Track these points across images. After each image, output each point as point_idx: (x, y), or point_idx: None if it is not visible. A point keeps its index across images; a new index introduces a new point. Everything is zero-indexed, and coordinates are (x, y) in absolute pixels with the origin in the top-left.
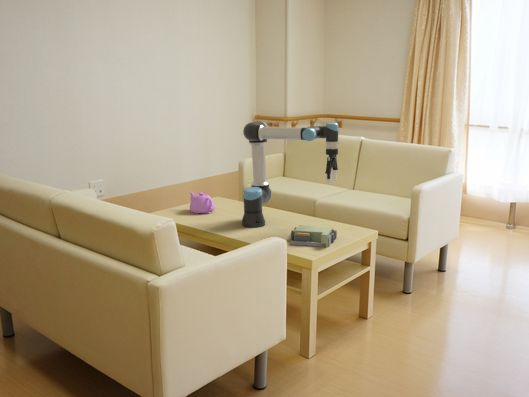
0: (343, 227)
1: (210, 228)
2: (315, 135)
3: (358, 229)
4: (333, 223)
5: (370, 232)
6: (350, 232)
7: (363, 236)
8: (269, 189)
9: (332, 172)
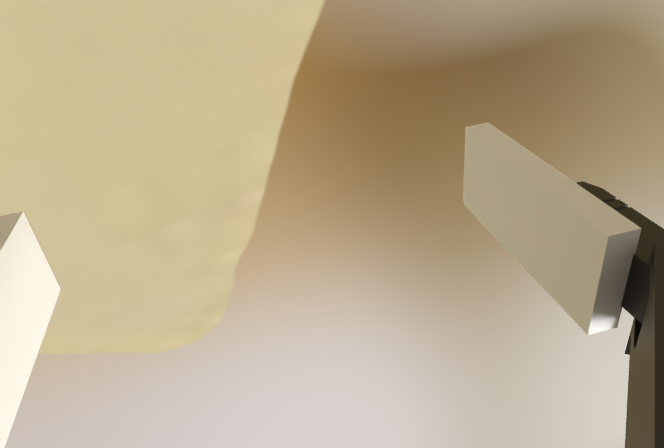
0: (196, 154)
1: None
2: None
3: (199, 256)
4: (275, 34)
5: (170, 335)
6: (94, 247)
7: (56, 342)
8: None
9: (565, 212)
